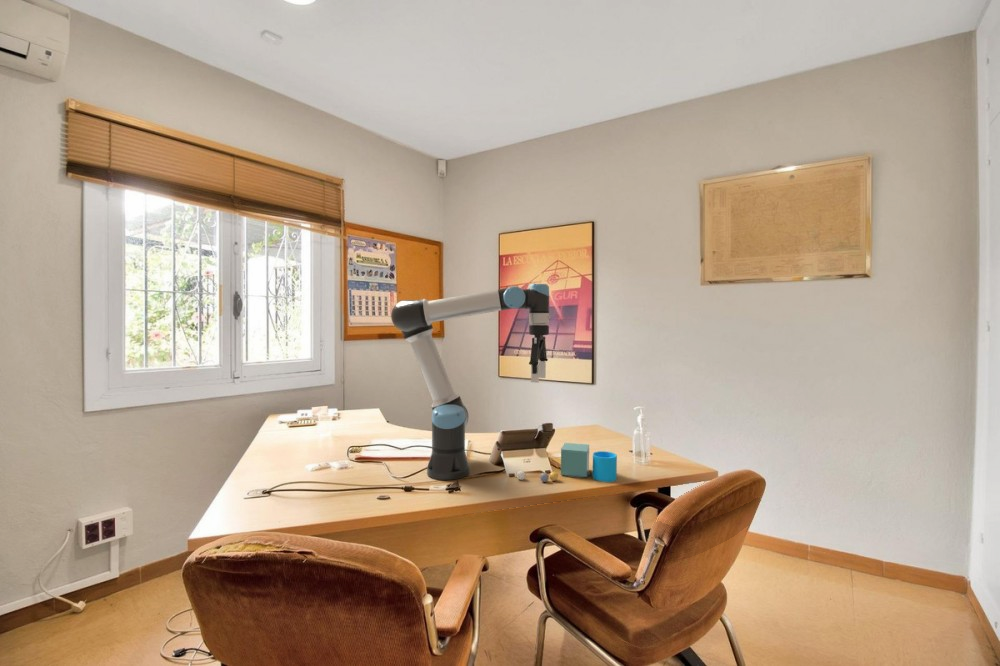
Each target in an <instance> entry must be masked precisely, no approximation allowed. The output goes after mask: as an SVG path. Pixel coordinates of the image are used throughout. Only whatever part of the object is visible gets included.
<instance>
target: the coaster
mask: <svg viewBox="0 0 1000 666" xmlns="http://www.w3.org/2000/svg"><path fill="white" fill-rule="evenodd" d="M589 475H591V472H590V470H589V471H588V474H587V477H589ZM564 476H566V477H569V478H576V479H577V478H579V479H580V478H581V479H582V478H583V477H580V476H570V475H564Z"/></svg>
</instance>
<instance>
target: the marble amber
mask: <svg viewBox="0 0 1000 666" xmlns="http://www.w3.org/2000/svg"><path fill="white" fill-rule="evenodd" d="M548 476H549V479H550V480H551V482H556V481H558V479H559V475H558V472H555V471H552V472H550V473H549V474H548Z"/></svg>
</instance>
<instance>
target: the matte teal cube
mask: <svg viewBox="0 0 1000 666" xmlns="http://www.w3.org/2000/svg"><path fill="white" fill-rule="evenodd" d="M588 471H589V472H590V444H585V443H583V444H582V443H571V442H564V444H562V447H561V449H560V475H563V476H565V475H570V476H580V477H582V478H587V477H588V476H587V474H588Z"/></svg>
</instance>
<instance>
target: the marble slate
mask: <svg viewBox="0 0 1000 666" xmlns="http://www.w3.org/2000/svg"><path fill="white" fill-rule="evenodd" d="M549 479H550V477H549V474H548V473H547V472H542V473H541V474H540V475H539V480H540V481H541V482H543V483H546V482H548V481H549Z"/></svg>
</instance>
